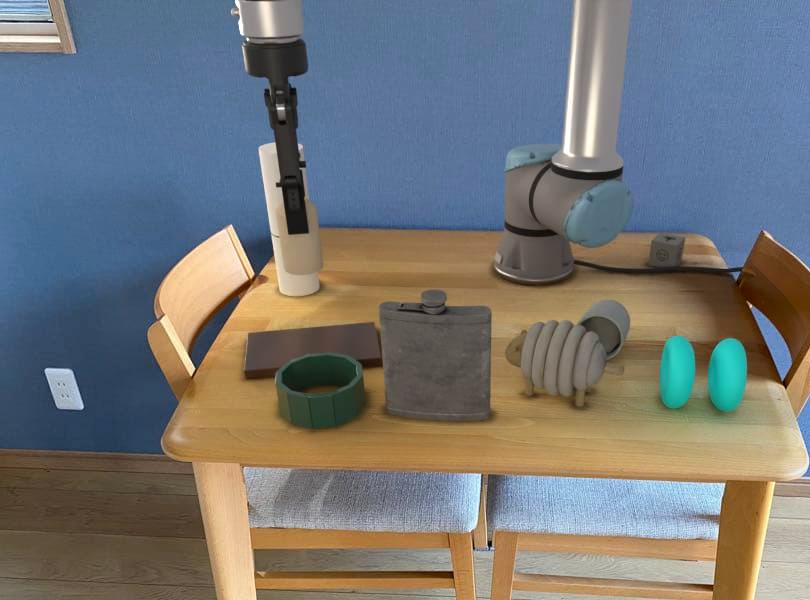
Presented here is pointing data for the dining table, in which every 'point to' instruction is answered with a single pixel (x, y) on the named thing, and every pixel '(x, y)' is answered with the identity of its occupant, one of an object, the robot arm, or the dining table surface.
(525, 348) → the toy sheep
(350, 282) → the dining table surface
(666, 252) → the grey engraved cube
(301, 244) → the candle
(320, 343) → the walnut board
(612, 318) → the ceramic mug
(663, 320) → the dining table surface
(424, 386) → the flask
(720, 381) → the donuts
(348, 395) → the segmented bracelet
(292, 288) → the cylindrical container
